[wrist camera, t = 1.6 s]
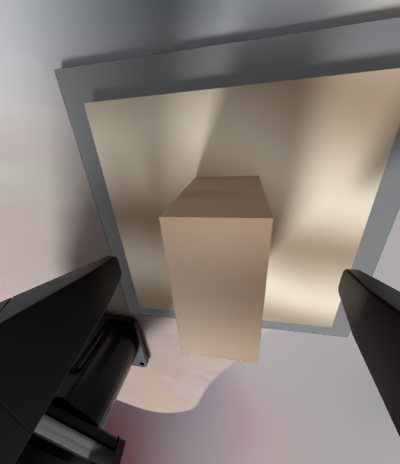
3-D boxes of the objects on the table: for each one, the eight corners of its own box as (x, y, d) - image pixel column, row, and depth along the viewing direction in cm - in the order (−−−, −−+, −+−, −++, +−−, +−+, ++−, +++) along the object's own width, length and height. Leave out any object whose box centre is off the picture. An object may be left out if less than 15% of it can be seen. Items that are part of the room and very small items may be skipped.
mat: (345, 331, 14) (347, 337, 14) (132, 309, 17) (129, 312, 17) (469, 10, 7) (481, 4, 6) (60, 71, 10) (54, 69, 9)
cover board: (327, 319, 13) (378, 432, 8) (143, 301, 16) (98, 380, 11) (407, 70, 7) (733, -42, 2) (92, 104, 10) (-57, 82, 5)
